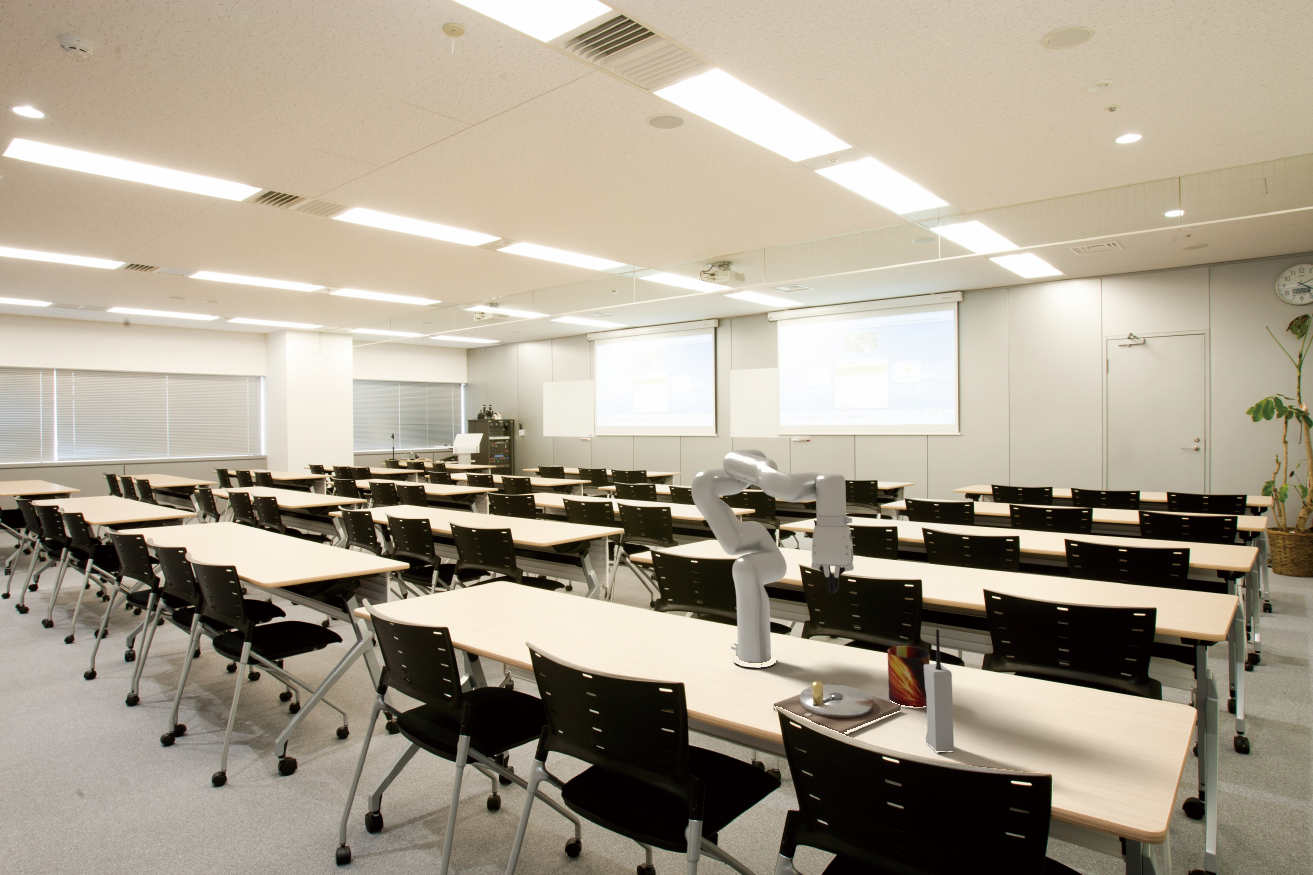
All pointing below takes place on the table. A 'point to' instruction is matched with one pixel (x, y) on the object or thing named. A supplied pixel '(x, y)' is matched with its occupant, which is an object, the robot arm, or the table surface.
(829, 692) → the dial
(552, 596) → the table surface
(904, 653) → the mug
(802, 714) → the base board
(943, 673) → the vintage mobile phone
